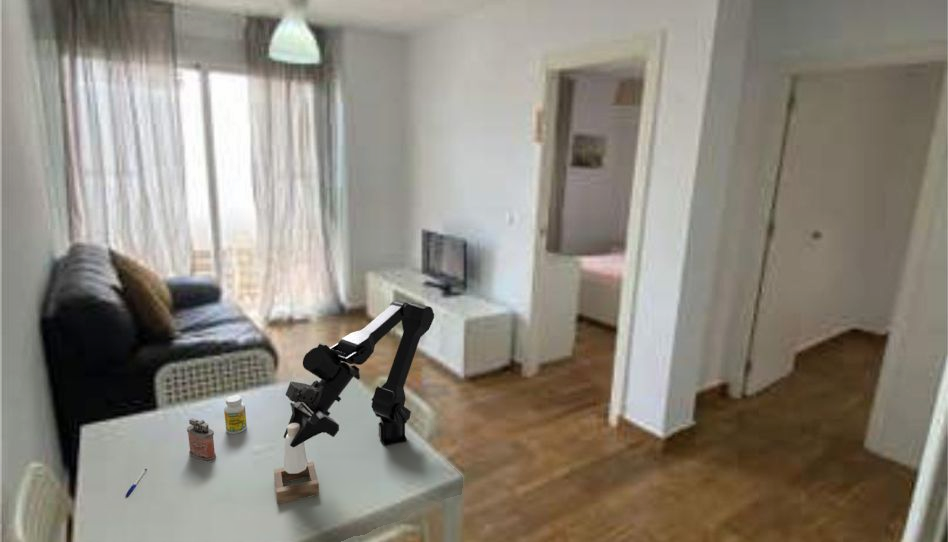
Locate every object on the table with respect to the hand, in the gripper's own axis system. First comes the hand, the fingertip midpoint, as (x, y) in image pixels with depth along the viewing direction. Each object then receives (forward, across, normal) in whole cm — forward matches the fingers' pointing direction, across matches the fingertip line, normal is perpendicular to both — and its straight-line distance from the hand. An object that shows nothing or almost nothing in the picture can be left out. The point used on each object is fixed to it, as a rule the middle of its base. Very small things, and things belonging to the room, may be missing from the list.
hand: (288, 442), depth 122 cm
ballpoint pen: (+29, -24, -11) cm, 39 cm away
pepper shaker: (+4, 0, +6) cm, 7 cm away
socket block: (+8, 0, +10) cm, 12 cm away
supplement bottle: (+11, -35, +7) cm, 38 cm away
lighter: (+18, -27, -1) cm, 32 cm away
